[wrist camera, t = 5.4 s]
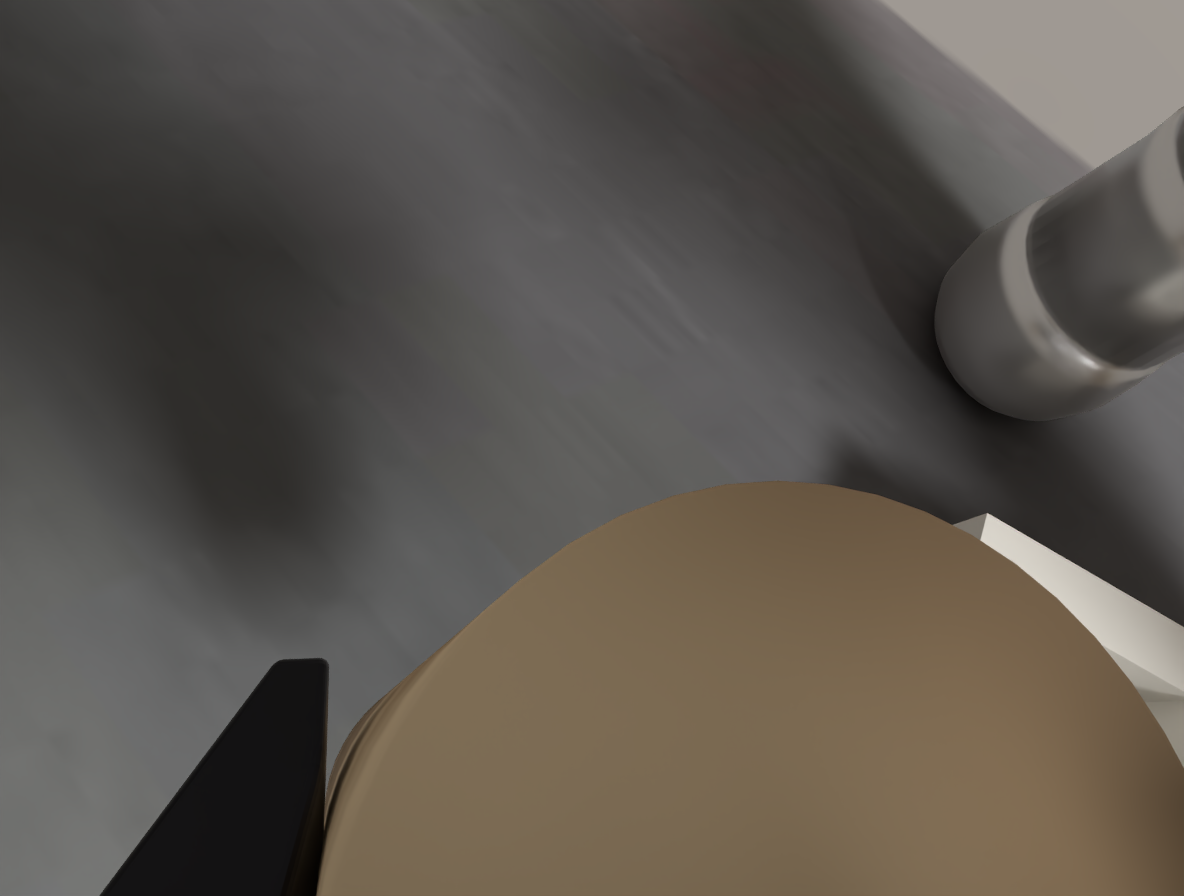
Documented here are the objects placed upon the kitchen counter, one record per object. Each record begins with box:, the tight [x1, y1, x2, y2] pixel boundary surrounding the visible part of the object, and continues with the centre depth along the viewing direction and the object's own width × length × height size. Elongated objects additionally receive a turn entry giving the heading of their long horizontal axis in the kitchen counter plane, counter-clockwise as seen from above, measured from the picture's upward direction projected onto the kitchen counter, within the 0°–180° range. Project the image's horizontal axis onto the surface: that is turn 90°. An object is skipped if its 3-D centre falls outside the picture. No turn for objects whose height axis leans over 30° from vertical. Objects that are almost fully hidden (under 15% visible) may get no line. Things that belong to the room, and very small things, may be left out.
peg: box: [316, 481, 1184, 896], centre depth 8 cm, size 4×4×11 cm
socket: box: [953, 513, 1184, 767], centre depth 22 cm, size 9×9×4 cm
